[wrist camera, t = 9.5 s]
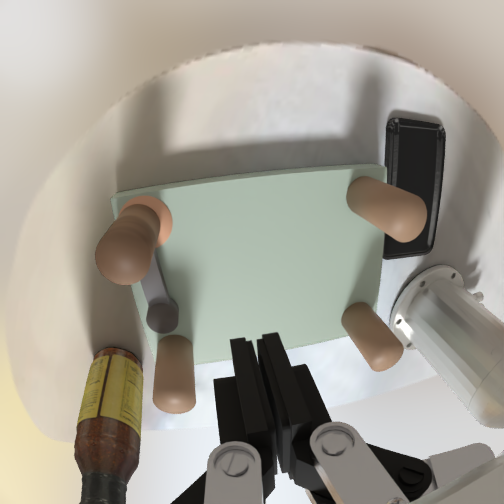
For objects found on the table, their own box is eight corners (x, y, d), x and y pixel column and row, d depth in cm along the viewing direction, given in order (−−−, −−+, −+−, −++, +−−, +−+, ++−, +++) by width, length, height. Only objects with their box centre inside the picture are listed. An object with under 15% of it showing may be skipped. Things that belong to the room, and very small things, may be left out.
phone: (446, 125, 28) (432, 254, 33) (439, 124, 29) (426, 250, 34) (389, 116, 26) (378, 261, 32) (383, 116, 27) (373, 256, 33)
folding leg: (186, 318, 28) (186, 367, 22) (149, 325, 28) (142, 373, 22) (154, 199, 24) (141, 225, 18) (112, 209, 24) (87, 238, 18)
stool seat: (373, 163, 29) (435, 183, 20) (364, 318, 36) (403, 368, 27) (116, 192, 26) (82, 225, 17) (158, 354, 33) (154, 420, 24)
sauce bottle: (99, 381, 33) (72, 527, 15) (88, 342, 31) (43, 501, 13) (150, 384, 35) (144, 538, 16) (144, 345, 32) (128, 517, 14)
